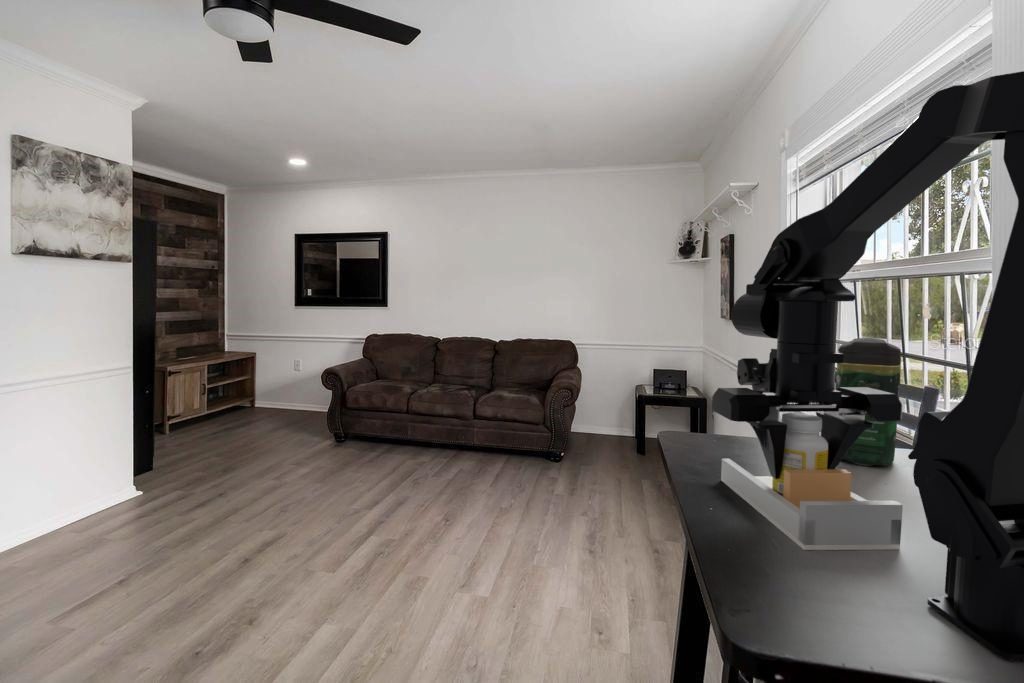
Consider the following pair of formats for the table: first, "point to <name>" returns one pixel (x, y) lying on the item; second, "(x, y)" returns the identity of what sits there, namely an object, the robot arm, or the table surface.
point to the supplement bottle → (802, 446)
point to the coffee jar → (878, 370)
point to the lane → (820, 515)
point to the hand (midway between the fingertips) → (799, 477)
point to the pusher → (817, 485)
